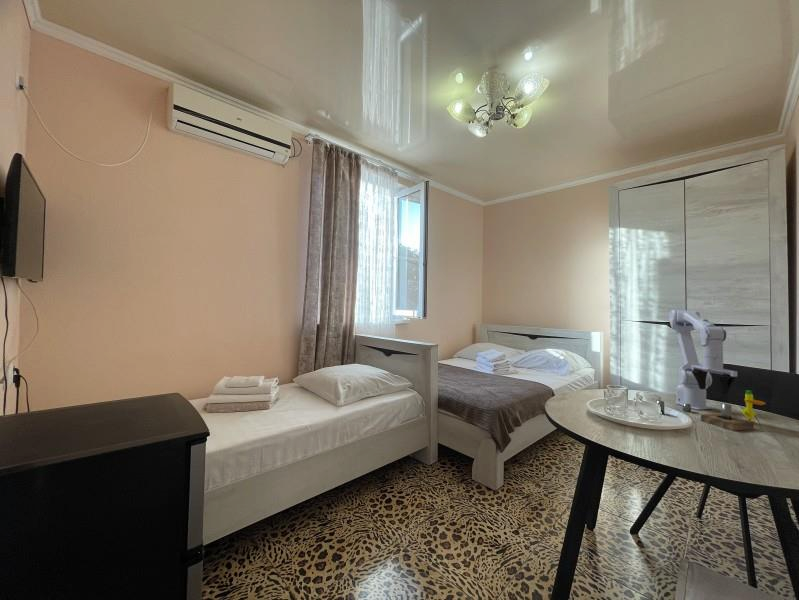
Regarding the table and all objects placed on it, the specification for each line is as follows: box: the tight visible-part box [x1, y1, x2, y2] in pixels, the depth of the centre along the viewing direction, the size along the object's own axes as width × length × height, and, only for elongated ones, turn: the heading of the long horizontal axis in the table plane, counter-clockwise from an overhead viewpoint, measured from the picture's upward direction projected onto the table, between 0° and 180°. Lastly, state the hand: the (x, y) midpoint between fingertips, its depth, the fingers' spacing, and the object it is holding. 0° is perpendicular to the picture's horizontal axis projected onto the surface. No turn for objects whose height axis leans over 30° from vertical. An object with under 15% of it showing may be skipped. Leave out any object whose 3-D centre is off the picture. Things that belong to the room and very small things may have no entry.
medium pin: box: [655, 399, 665, 415], centre depth 133 cm, size 3×3×5 cm
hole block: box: [700, 412, 755, 431], centre depth 121 cm, size 10×10×2 cm
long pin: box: [721, 402, 733, 420], centre depth 121 cm, size 3×3×8 cm
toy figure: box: [739, 390, 766, 425], centre depth 123 cm, size 7×4×12 cm, turn 29°
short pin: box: [682, 403, 692, 413], centre depth 136 cm, size 3×3×3 cm
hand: (713, 391), depth 128 cm, fingers open, 7 cm apart
